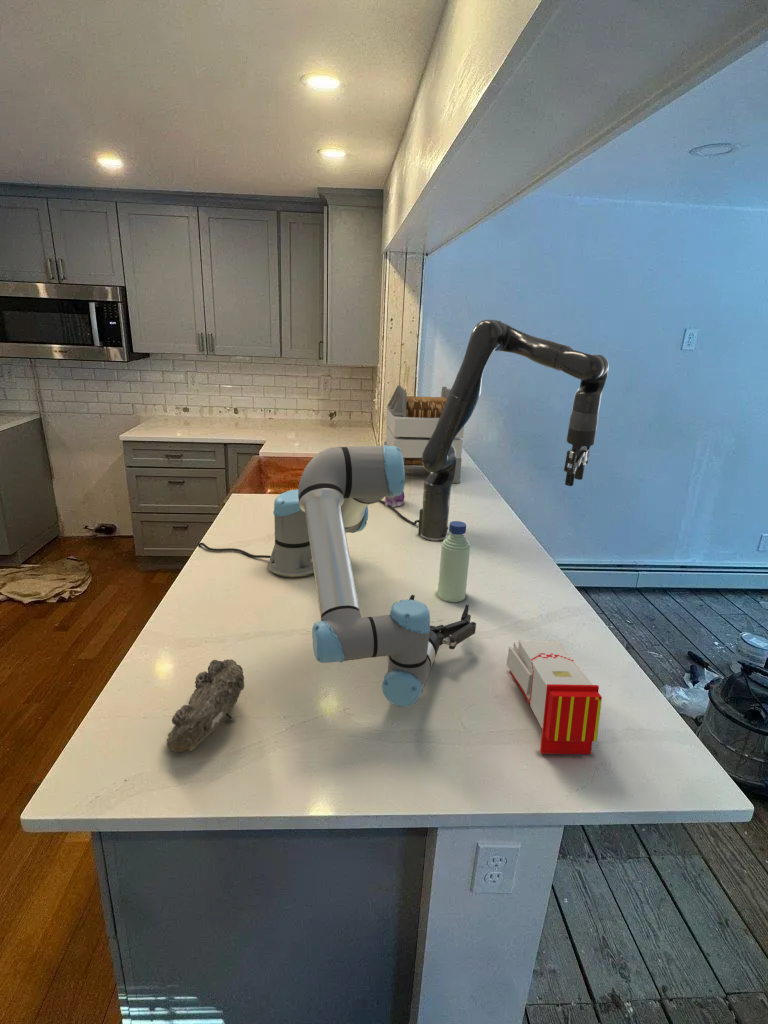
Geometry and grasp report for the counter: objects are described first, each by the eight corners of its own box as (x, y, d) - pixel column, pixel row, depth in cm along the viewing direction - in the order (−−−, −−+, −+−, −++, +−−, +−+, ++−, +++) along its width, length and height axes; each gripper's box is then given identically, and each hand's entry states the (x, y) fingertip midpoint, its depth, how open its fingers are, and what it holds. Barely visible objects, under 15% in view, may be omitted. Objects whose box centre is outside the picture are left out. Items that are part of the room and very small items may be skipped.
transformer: (382, 463, 289) (386, 382, 275) (445, 464, 293) (451, 384, 279) (390, 482, 257) (394, 392, 243) (460, 483, 261) (468, 394, 247)
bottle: (456, 587, 163) (463, 519, 156) (470, 599, 157) (477, 528, 149) (432, 591, 160) (438, 521, 153) (445, 603, 154) (452, 532, 147)
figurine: (389, 509, 224) (391, 472, 218) (377, 501, 232) (379, 465, 227) (410, 506, 228) (412, 470, 223) (398, 498, 236) (399, 463, 231)
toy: (555, 623, 127) (611, 693, 98) (549, 678, 130) (602, 761, 101) (501, 622, 127) (542, 691, 98) (497, 677, 130) (535, 760, 100)
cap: (460, 527, 155) (461, 520, 154) (468, 533, 151) (469, 525, 150) (446, 529, 153) (446, 521, 152) (454, 535, 149) (454, 527, 148)
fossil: (192, 660, 117) (244, 628, 112) (224, 691, 120) (276, 661, 115) (142, 746, 98) (202, 712, 93) (182, 779, 101) (242, 748, 96)
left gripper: (362, 653, 125) (390, 608, 144) (475, 678, 118) (488, 627, 138) (363, 623, 123) (391, 582, 142) (478, 647, 116) (491, 600, 135)
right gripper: (577, 422, 167) (568, 474, 173) (561, 428, 156) (552, 484, 162) (603, 425, 163) (593, 479, 169) (588, 433, 152) (578, 490, 158)
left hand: (439, 604), depth 140 cm, fingers open, 13 cm apart
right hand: (573, 482), depth 165 cm, fingers open, 8 cm apart
